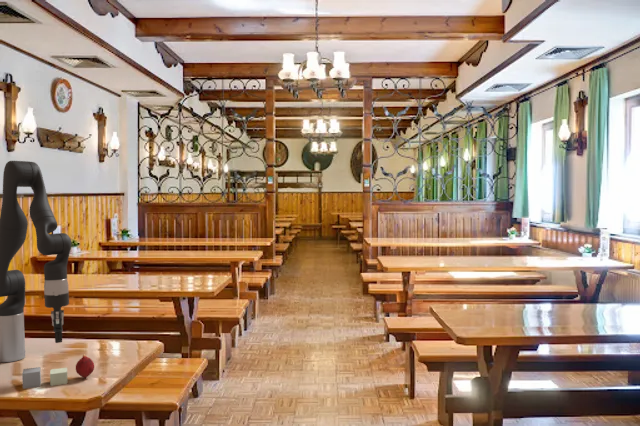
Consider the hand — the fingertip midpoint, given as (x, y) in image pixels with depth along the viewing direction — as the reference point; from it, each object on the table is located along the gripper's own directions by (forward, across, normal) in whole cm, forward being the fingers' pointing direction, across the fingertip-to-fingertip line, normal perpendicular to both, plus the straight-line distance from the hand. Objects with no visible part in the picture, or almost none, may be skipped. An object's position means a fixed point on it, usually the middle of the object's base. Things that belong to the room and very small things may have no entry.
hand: (58, 342), depth 192 cm
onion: (+12, +7, +8) cm, 16 cm away
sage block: (+12, +8, 0) cm, 14 cm away
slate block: (+12, +7, -8) cm, 16 cm away
